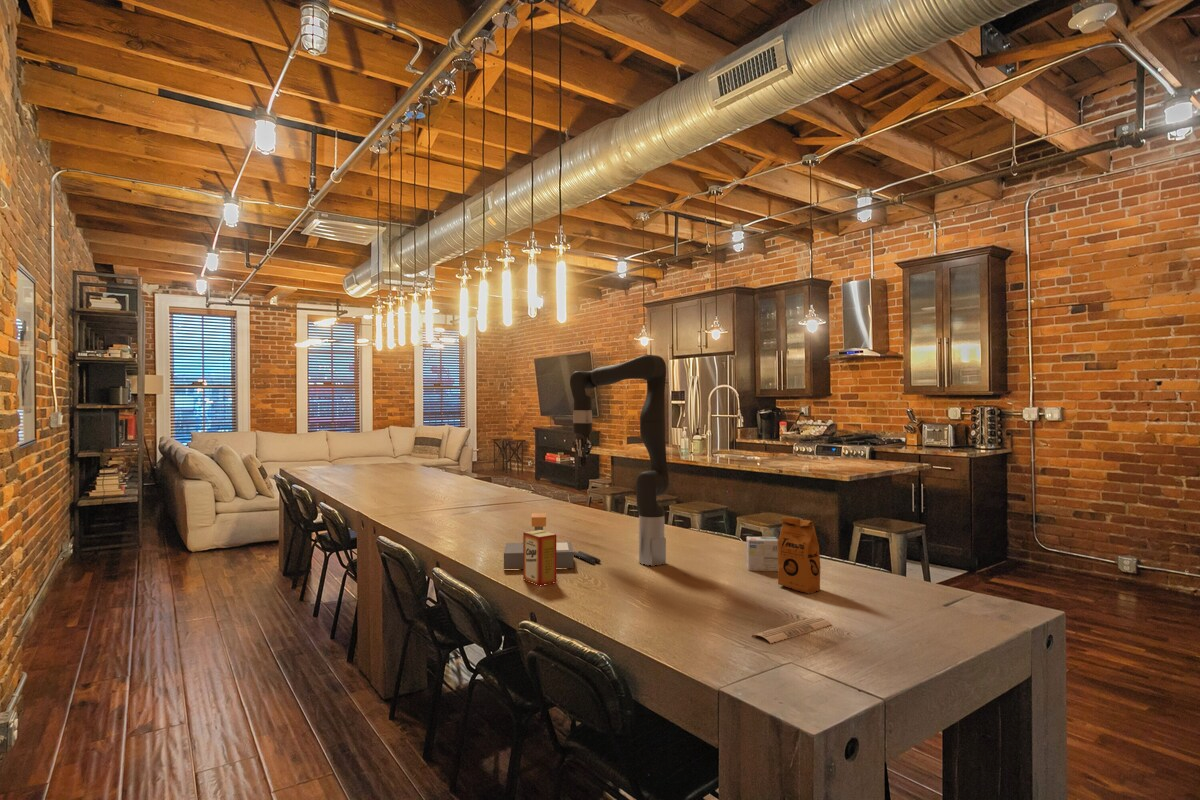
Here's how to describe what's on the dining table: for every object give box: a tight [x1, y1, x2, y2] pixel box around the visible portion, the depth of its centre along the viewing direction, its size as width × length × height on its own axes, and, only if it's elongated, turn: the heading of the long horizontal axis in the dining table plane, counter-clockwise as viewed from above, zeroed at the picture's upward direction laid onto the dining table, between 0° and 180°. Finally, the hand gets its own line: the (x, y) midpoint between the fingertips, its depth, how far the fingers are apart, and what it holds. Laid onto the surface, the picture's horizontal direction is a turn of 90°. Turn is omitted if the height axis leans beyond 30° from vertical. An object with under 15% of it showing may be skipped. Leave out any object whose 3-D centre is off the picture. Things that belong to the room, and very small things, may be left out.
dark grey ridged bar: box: [573, 550, 602, 565], centre depth 237 cm, size 16×4×2 cm, turn 31°
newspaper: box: [751, 616, 832, 645], centre depth 164 cm, size 24×7×2 cm, turn 124°
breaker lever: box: [531, 512, 547, 531], centre depth 227 cm, size 2×5×13 cm, turn 95°
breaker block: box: [503, 541, 574, 570], centre depth 230 cm, size 16×24×9 cm, turn 95°
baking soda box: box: [522, 529, 557, 587], centre depth 208 cm, size 10×6×16 cm
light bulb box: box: [745, 536, 779, 572], centre depth 224 cm, size 11×7×11 cm, turn 84°
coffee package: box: [777, 516, 821, 595], centre depth 201 cm, size 10×12×22 cm
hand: (582, 465), depth 252 cm, fingers closed
